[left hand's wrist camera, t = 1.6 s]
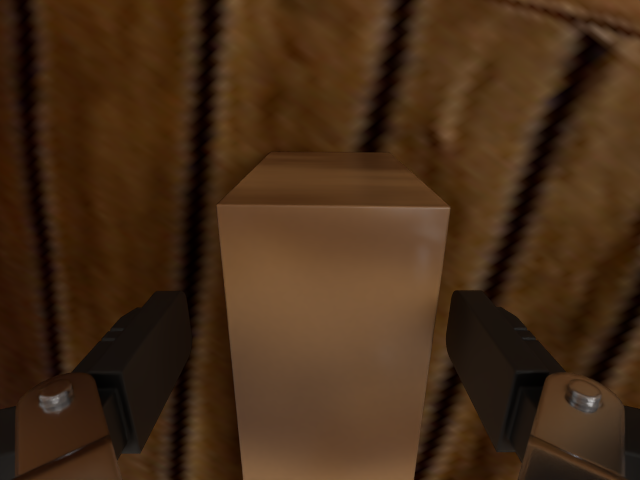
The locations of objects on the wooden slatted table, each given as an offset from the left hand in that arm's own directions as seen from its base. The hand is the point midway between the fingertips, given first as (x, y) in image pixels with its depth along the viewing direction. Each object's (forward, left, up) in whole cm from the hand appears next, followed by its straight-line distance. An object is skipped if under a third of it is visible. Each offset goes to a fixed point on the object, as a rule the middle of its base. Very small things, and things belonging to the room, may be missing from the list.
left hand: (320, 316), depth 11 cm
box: (-3, +9, -10) cm, 13 cm away
